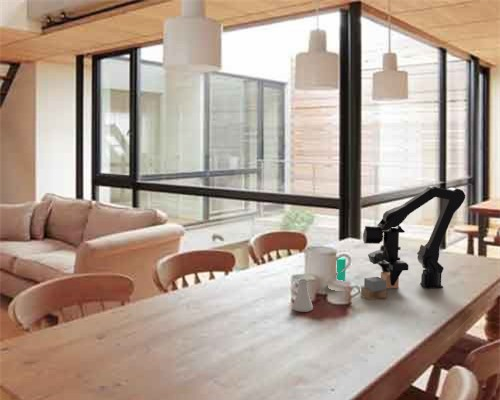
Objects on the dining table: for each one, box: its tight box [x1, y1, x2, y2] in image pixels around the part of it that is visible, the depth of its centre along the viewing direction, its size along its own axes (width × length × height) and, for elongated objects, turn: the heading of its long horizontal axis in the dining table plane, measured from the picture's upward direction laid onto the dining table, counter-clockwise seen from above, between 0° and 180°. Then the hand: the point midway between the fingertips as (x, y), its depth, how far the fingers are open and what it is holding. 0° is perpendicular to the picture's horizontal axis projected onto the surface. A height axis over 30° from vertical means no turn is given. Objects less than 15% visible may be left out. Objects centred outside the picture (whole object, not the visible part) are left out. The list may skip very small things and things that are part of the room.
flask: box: [291, 278, 314, 313], centre depth 181 cm, size 7×7×10 cm
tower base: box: [360, 285, 388, 301], centre depth 195 cm, size 7×7×4 cm
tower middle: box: [363, 276, 387, 291], centre depth 195 cm, size 6×6×4 cm
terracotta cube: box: [380, 271, 400, 289], centre depth 210 cm, size 5×5×5 cm
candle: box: [337, 256, 347, 282], centre depth 212 cm, size 6×6×12 cm
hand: (389, 283), depth 210 cm, fingers closed on terracotta cube, 5 cm apart
